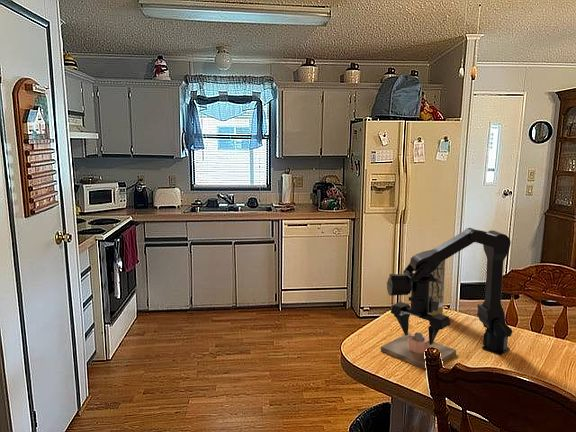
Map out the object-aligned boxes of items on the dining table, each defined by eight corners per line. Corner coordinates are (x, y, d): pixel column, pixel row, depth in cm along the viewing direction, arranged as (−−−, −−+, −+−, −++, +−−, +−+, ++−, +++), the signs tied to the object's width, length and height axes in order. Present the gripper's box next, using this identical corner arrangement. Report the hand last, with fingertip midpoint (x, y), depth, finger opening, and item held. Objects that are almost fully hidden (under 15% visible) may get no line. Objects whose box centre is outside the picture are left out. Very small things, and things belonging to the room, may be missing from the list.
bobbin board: (455, 354, 145) (456, 335, 144) (429, 371, 134) (429, 351, 133) (408, 336, 158) (409, 319, 157) (380, 350, 148) (381, 332, 147)
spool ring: (432, 348, 146) (432, 338, 145) (421, 354, 142) (421, 344, 141) (415, 342, 150) (415, 332, 150) (404, 347, 146) (404, 337, 146)
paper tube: (443, 318, 174) (446, 256, 170) (425, 317, 175) (428, 255, 171) (441, 311, 181) (444, 252, 177) (424, 310, 182) (426, 251, 178)
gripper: (460, 295, 141) (457, 341, 144) (409, 282, 155) (408, 324, 158) (441, 304, 134) (439, 352, 137) (390, 289, 148) (389, 333, 150)
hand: (418, 339), depth 146 cm, fingers open, 9 cm apart
